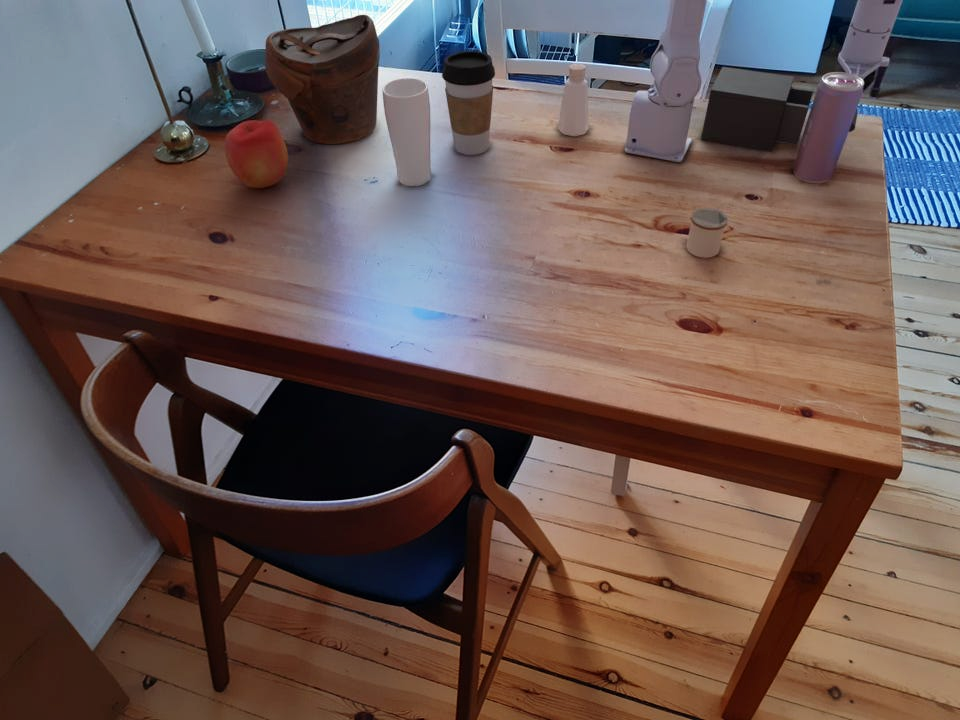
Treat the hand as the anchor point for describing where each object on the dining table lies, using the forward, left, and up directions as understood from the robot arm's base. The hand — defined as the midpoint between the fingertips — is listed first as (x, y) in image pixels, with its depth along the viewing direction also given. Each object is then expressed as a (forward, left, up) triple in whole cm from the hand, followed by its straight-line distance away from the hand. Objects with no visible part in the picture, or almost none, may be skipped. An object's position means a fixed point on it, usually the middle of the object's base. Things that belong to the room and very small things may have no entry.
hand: (840, 114), depth 114 cm
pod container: (-13, -37, -5) cm, 39 cm away
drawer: (-5, -1, -4) cm, 7 cm away
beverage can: (-2, -11, -5) cm, 12 cm away
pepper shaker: (-41, -10, -5) cm, 43 cm away
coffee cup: (-55, -22, -5) cm, 60 cm away
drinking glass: (-59, -35, -5) cm, 69 cm away
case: (-80, -25, -5) cm, 84 cm away
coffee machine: (-14, -1, -5) cm, 15 cm away
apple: (-81, -45, -5) cm, 93 cm away
